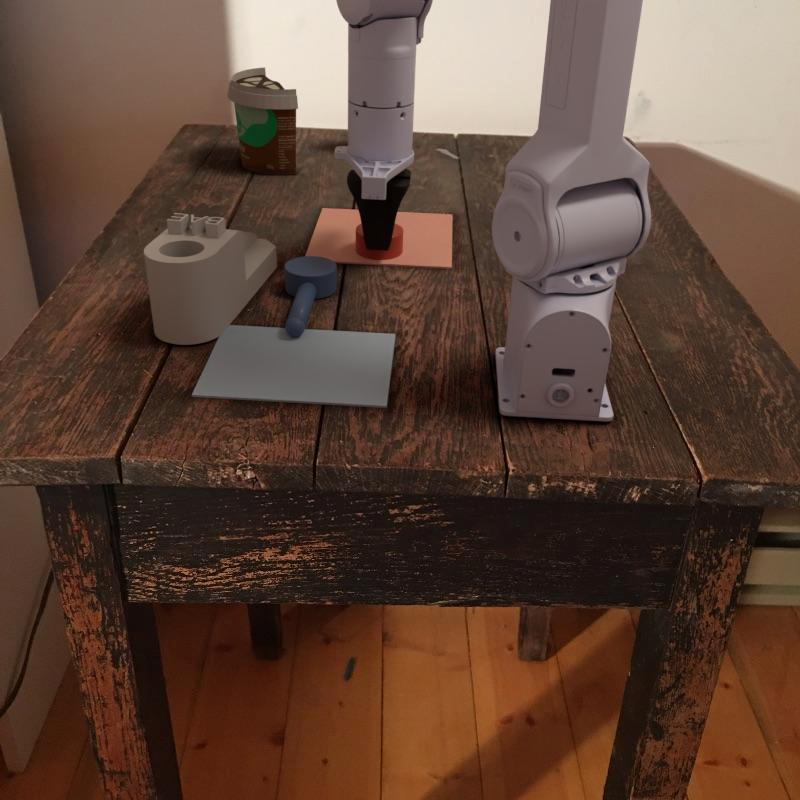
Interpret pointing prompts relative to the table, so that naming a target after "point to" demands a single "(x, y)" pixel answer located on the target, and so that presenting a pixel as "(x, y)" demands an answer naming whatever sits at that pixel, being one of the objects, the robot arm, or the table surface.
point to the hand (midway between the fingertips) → (377, 248)
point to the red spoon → (393, 251)
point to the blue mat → (299, 367)
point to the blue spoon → (307, 288)
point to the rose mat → (421, 239)
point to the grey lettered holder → (203, 277)
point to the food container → (264, 122)
